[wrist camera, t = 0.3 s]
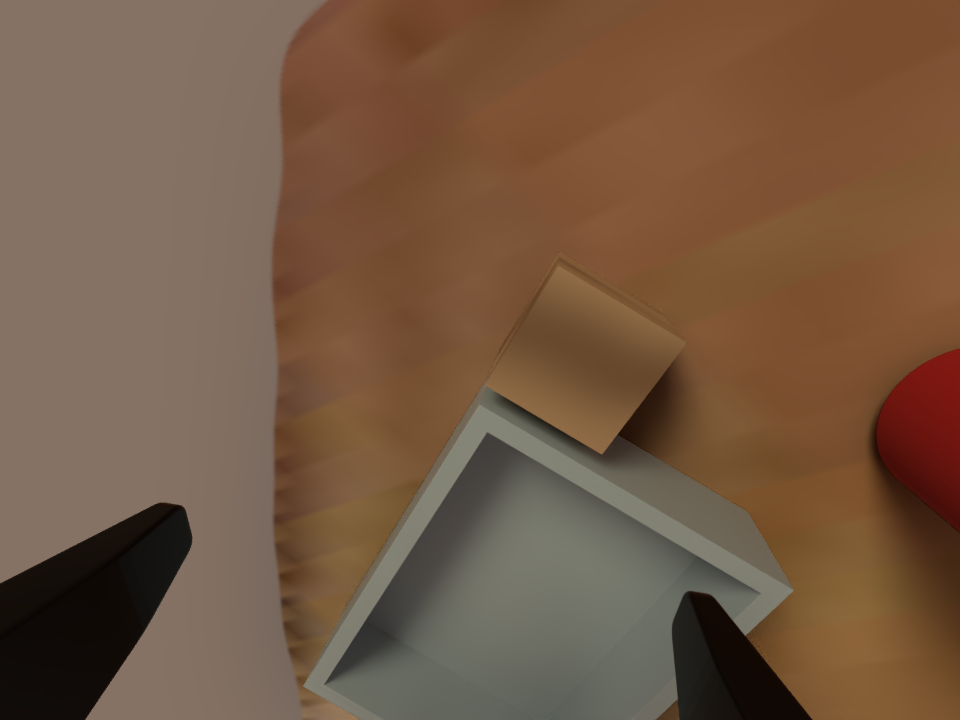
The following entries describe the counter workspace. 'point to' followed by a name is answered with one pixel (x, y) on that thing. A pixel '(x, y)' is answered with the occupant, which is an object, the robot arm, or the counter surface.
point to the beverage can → (926, 434)
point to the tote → (540, 581)
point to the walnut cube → (584, 354)
